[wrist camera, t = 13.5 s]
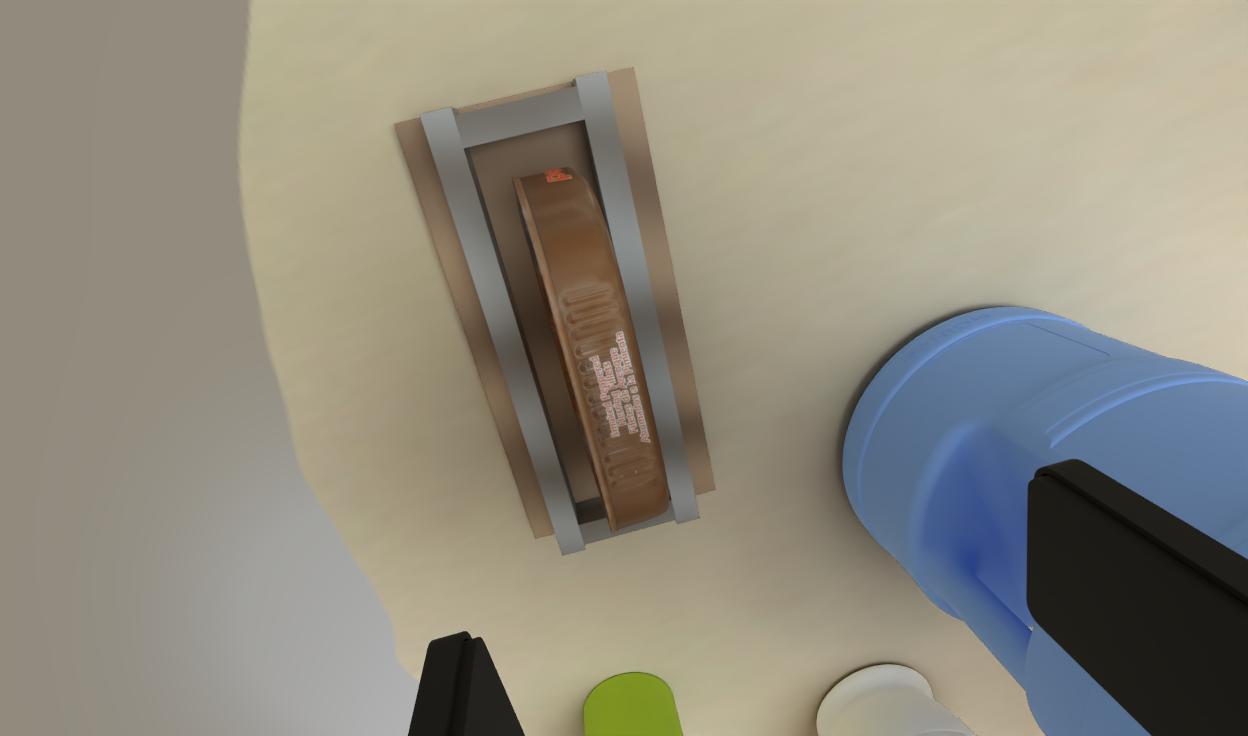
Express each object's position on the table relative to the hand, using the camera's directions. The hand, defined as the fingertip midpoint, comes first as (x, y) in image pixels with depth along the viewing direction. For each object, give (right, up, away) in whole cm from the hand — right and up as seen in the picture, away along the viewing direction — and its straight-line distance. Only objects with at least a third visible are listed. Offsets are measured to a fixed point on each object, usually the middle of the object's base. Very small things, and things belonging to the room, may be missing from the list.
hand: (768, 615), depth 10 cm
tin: (-4, +6, +19) cm, 20 cm away
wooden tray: (-5, +6, +20) cm, 21 cm away
